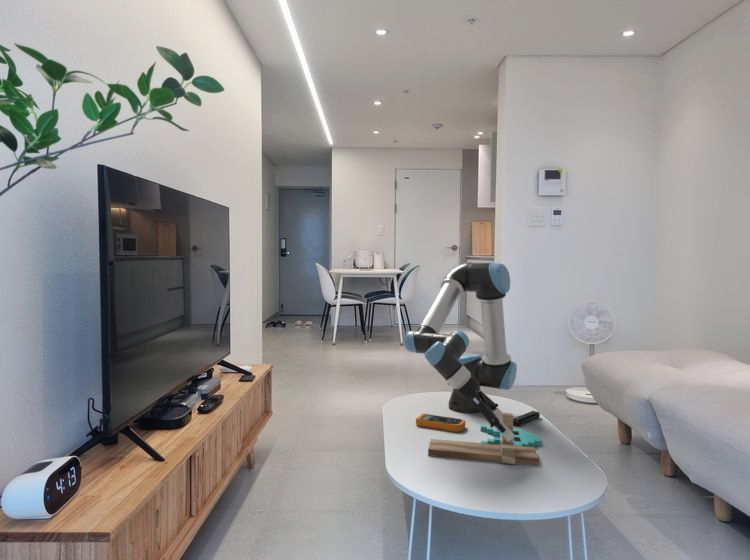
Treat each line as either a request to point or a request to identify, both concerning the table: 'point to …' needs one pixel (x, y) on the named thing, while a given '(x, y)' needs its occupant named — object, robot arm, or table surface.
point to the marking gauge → (506, 446)
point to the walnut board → (479, 451)
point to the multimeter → (440, 422)
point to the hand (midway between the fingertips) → (510, 431)
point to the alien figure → (519, 440)
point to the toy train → (525, 418)
